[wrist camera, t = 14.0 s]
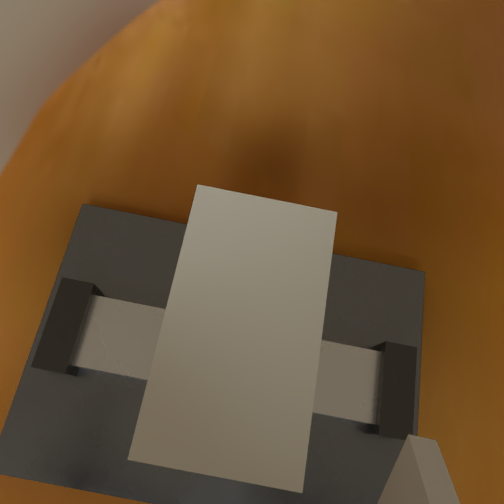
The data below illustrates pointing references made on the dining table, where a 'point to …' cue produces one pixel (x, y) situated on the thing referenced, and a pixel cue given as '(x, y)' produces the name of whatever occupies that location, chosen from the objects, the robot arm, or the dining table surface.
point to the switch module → (240, 342)
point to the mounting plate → (141, 356)
